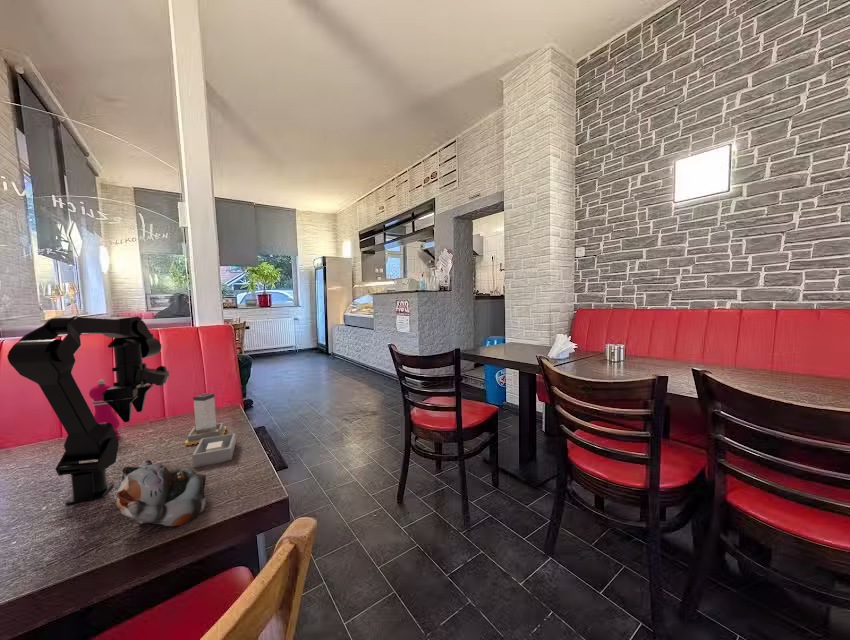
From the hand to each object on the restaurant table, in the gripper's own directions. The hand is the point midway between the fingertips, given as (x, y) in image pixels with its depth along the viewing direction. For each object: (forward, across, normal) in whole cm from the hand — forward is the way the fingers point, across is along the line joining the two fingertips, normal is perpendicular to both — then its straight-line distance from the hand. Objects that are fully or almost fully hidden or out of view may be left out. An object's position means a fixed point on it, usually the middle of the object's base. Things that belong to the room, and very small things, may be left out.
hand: (133, 416), depth 94 cm
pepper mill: (+13, +26, +16) cm, 33 cm away
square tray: (+13, +11, -15) cm, 23 cm away
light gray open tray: (+13, -6, -20) cm, 25 cm away
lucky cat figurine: (+13, -34, -15) cm, 40 cm away
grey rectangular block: (+12, +11, -15) cm, 22 cm away
